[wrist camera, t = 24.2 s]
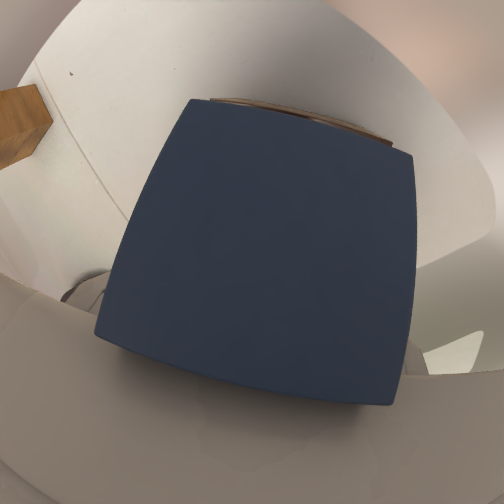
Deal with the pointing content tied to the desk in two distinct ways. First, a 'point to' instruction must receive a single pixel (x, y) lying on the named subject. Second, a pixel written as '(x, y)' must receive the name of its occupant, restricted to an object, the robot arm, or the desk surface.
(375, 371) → the block
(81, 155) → the desk surface
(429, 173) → the desk surface
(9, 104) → the stand
